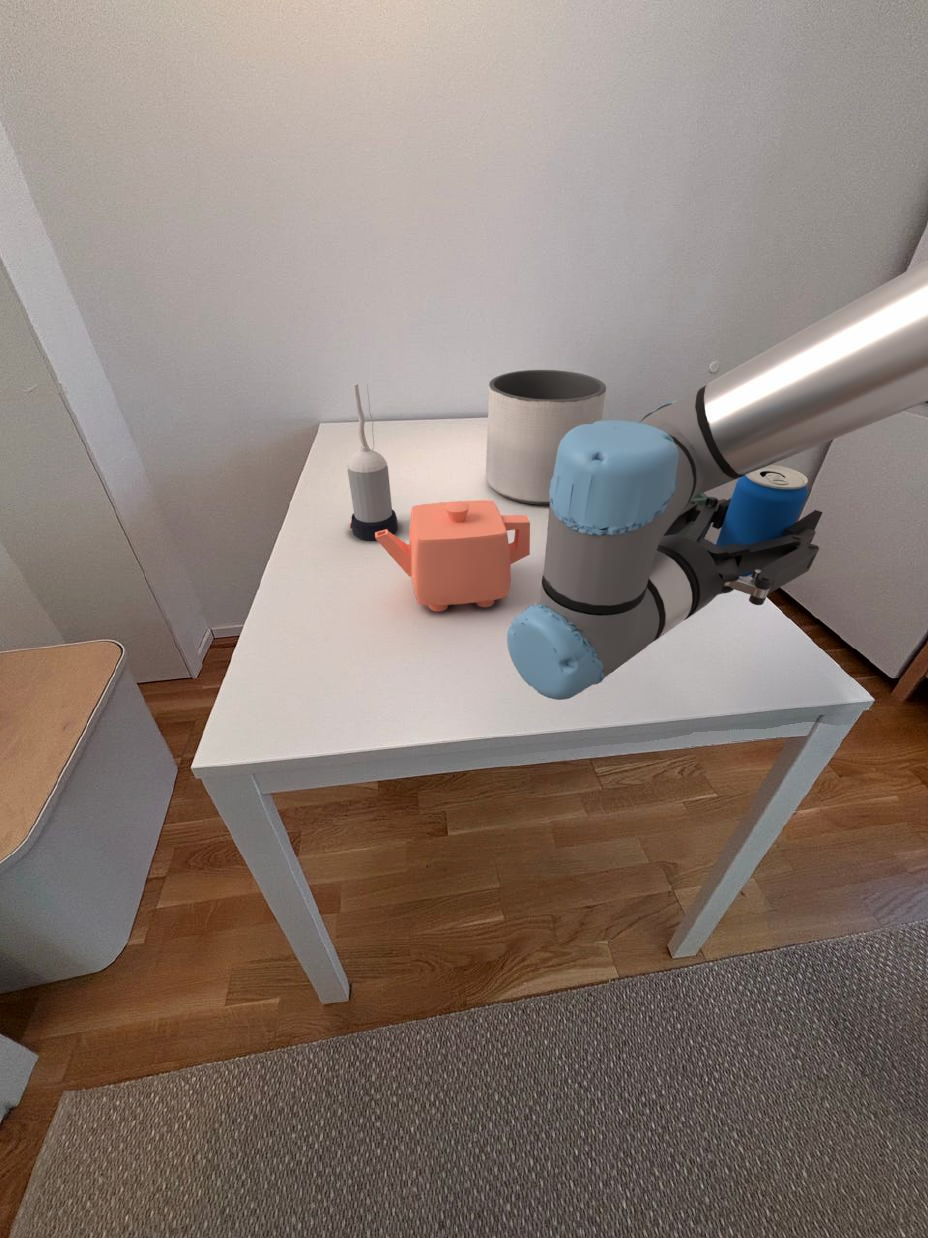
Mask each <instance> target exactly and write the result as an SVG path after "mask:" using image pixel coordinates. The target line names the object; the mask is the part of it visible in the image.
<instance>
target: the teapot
mask: <svg viewBox="0 0 928 1238" xmlns="http://www.w3.org/2000/svg"><path fill="white" fill-rule="evenodd" d="M409 519H410V520H409V537H408V543H409V544H407V543H406V542H405V541H403V540H402V539H400V537H398V536H396V534H395V535H393V534H392V533H390V532H389V531H388V530H387V529H386V530H382V531H379V532H375V538H376V540H377V541H376V542H378V544H380V546H381V547H382V548H383V549H384V550H385V551H386V552H387V553H388V554H389V556H390V557H391V558H392V559H393V560H394V561H395V562H396V564H398V566H399V567H400V568H401V569H402V570H403V571H404V573H405V574H406V575H407V576H408V577H410V578H411V582H412V588H413V592H414V595H415V599H416V601H417V604H418V605H419V606H428V608H429V609H430V610H431V611H433V612H443V611H446V610H447V609H448V607H449V606H450V605H464V604H473V603H475V604H476V605H477V606H478V607H481V608H488V607H492V606H494V603H495V600H500V599H504V598H507V597H508V594H509V591H510V588H511V582H512V581H511V580H512V578H511V577H512V572H511V571H512V567H511V565H512V564H515V563H516V562H518V561H521V560H522V559H524V558H526V557H528V556H530V555H531V521H530V519H529V518H528V515H527V514H518V515H517V514H515V515H514V514H501V513H500V511H499V508H498V506H497V505H496V503H495V501H493V500H490V499H488V500H487V499H486V500H485V499H484V500H483V499H482V500H481V499H480V500H479V499H478V500H459V501H457V500H456V501H444V502H435V503H425V504H424V503H423V504H417V505H413V506H412V507H411V511H410V518H409ZM508 531H514V538H513V541H512V542H510V543H509V535H508Z"/></svg>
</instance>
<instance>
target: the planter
mask: <svg viewBox="0 0 928 1238" xmlns="http://www.w3.org/2000/svg"><path fill="white" fill-rule="evenodd" d="M606 392H607V386H606V383H604V382H603V381H602V380H600V379H598V378H597V377H594V376H591V375H587V374H584V373H581V372H580V373H579V372H573V371H567V370H555V369H527V370H517V371H511V372H507V373H503V374H500V375H498V376H496V377H494V378H492V379H491V380H490V381H489V383H488V404H487V405H488V406H487V407H488V408H487V432H486V433H487V434H486V454H485V455H486V458H485V479H486V483H487V484H488V486H489V488H491V489H492V491H494V492H496V493H497V494H498V495H500V496H502V497H504V498H506V499H508V500H511V501H514V502H519V503H521V504H528V505H543V506H544V505H545V506H548V505H549V506H550V500H549V499H550V496H549V489H550V488H551V487H550V482H551V479H552V477H553V475H554V469H555V463H556V457H557V451H558V447H559V444H560V442H561V440H562V439H563V437H564V436H565V435H566V434H567V433H568V432H569V431H570V430H572V429H574V428H575V427H577V426H580V425H584V424H593V423H595V422H596V421H602V419H603V412H604V406H605V399H606V394H607V393H606Z"/></svg>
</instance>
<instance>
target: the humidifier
mask: <svg viewBox="0 0 928 1238" xmlns="http://www.w3.org/2000/svg"><path fill="white" fill-rule="evenodd" d="M368 385H369V384H368V383H366V390H367V391H369V387H368ZM352 386H353V394H354V401H355V407H356V413H357V415H358V437H359V440H360V443H361V447H360V448H361V449H360V450H359V451H357V452H355V453H354V454H353V455H352V456H350V459H349V460H348V463H347V476H348V477H347V478H348V481H349V482H348V483H349V489H350V495H351V496H350V497H351V502H352V508H353V513H352V514H351V522H350V525H349V529H351V530H352V534H353V536H355V537H356V538H357V539H359V540H362V541H367V542H378V541H377V540H376V538H375V532H379V531H382V530H386V529H387V530H388V531H389V532H390V533H392V534H393V535H395V536H396V534H397V532H398V530H399V527H398V526H399V525H398V517H397V514H396V511H395V510H394V509H393V504H392V494H391V485H390V484H391V483H390V475H389V467H388V463H387V461H386V458H385V457H384V456H383V455H382V454H381V453H380V452H377V451H376V450H374V449H375V445H373V447H372V449H371V448H370V446H369V445H368V442H367V438H366V435H365V421H366V418H365V415H364V411H363V408H362V403H361V394H360V389H359V383H352ZM367 399H368V401H370V395H369V393H367ZM370 407H371V405H370V402H368V413H369V415H370V417H371V422H372V424H371V426H372V427H371V432H372V433H371V434H374V419H373V415H372V414H371V410H370V409H371V408H370ZM372 441H373V443H372V444H375V436H374V435H372Z"/></svg>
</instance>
